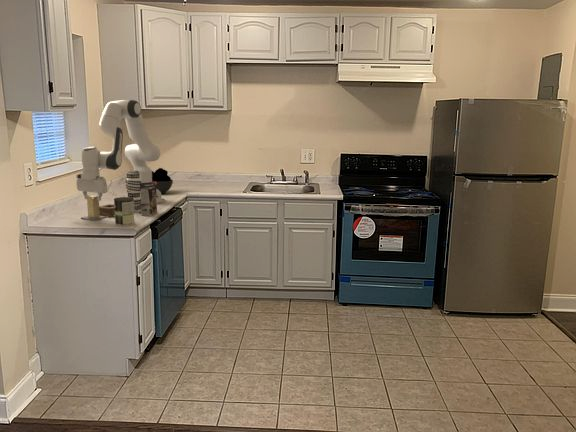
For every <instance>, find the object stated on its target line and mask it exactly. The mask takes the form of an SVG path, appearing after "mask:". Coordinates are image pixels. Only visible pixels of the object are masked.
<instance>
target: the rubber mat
mask: <svg viewBox="0 0 576 432" xmlns="http://www.w3.org/2000/svg"><path fill="white" fill-rule="evenodd" d="M106 218H108V217H107V216H101V215H100V217H96V218H90V217H88V215H87V216H81V217H80V219H81V220H87V221H94V222H95V221H98V220H102V219H106Z"/></svg>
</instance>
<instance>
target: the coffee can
mask: <svg viewBox="0 0 576 432" xmlns="http://www.w3.org/2000/svg"><path fill="white" fill-rule="evenodd" d="M113 202H114V203H113V204H114V208H115V216H114V222H115V223H114V225H115V226H119V227H127V226H128V227H129V226H133V225H135V224H136V223H135V212H134V198H131V197H128V196H122V197H121V196H120V197H115V198H113Z"/></svg>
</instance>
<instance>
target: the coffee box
mask: <svg viewBox="0 0 576 432" xmlns="http://www.w3.org/2000/svg"><path fill="white" fill-rule="evenodd" d="M140 213H141V216H143V217H144V216H145V217H152V216H153V215H156V214H158V203H157V194H156V187H145V188H142V189H141V211H140Z"/></svg>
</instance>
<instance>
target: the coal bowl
mask: <svg viewBox="0 0 576 432" xmlns="http://www.w3.org/2000/svg"><path fill="white" fill-rule="evenodd" d="M151 171H152V182H157V184H156V185H155V184H154V187H156V189H157V190H159V191H160V192H161V194H164V193H167V192H168V191H169V190H170V189H171V188H172V186H173V183H174V180H173V178H171V176H169V175H168V170H166V169H164V168H163V167H158V168H157V169H156V170H155V171H153V170H151Z"/></svg>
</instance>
